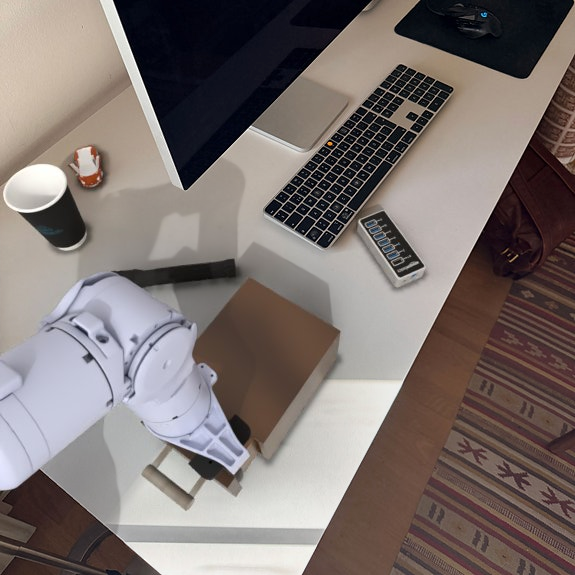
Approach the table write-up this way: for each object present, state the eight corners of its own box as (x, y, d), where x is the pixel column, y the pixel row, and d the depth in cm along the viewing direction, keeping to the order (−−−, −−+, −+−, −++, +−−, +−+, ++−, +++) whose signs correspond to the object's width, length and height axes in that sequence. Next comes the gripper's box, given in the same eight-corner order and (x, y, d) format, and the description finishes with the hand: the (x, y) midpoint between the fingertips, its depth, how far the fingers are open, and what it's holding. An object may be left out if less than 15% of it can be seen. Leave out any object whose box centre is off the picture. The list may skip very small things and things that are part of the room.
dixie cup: (87, 207, 75) (55, 154, 65) (105, 244, 72) (74, 194, 62) (36, 230, 73) (-5, 179, 64) (52, 268, 70) (12, 221, 60)
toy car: (76, 192, 77) (68, 178, 74) (71, 156, 80) (63, 141, 78) (110, 184, 77) (103, 169, 74) (103, 148, 81) (96, 133, 78)
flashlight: (117, 278, 69) (110, 266, 66) (235, 264, 69) (233, 252, 66) (116, 297, 67) (108, 286, 64) (237, 282, 68) (234, 271, 65)
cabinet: (268, 460, 56) (263, 444, 49) (184, 399, 60) (166, 375, 52) (336, 359, 62) (341, 330, 54) (255, 309, 66) (248, 276, 58)
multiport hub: (382, 218, 72) (384, 208, 70) (423, 276, 67) (427, 267, 65) (355, 229, 71) (357, 219, 69) (395, 288, 66) (398, 280, 64)
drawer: (213, 530, 52) (201, 525, 46) (133, 466, 55) (113, 454, 49) (304, 395, 59) (304, 376, 53) (228, 346, 62) (220, 322, 56)
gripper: (269, 406, 37) (278, 446, 48) (140, 296, 41) (176, 357, 53) (201, 483, 34) (227, 506, 46) (72, 356, 39) (126, 406, 51)
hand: (197, 429), depth 49 cm, fingers open, 7 cm apart
